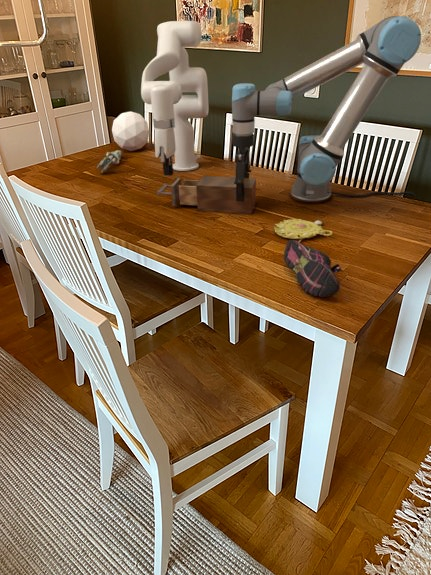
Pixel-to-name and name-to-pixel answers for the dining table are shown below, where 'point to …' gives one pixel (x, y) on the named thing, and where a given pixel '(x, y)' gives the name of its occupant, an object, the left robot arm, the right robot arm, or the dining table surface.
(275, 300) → the dining table surface
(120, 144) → the sphere
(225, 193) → the dark brown low box
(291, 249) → the athletic shoe
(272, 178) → the dining table surface
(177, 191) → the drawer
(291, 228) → the decorative object
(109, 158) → the figurine
